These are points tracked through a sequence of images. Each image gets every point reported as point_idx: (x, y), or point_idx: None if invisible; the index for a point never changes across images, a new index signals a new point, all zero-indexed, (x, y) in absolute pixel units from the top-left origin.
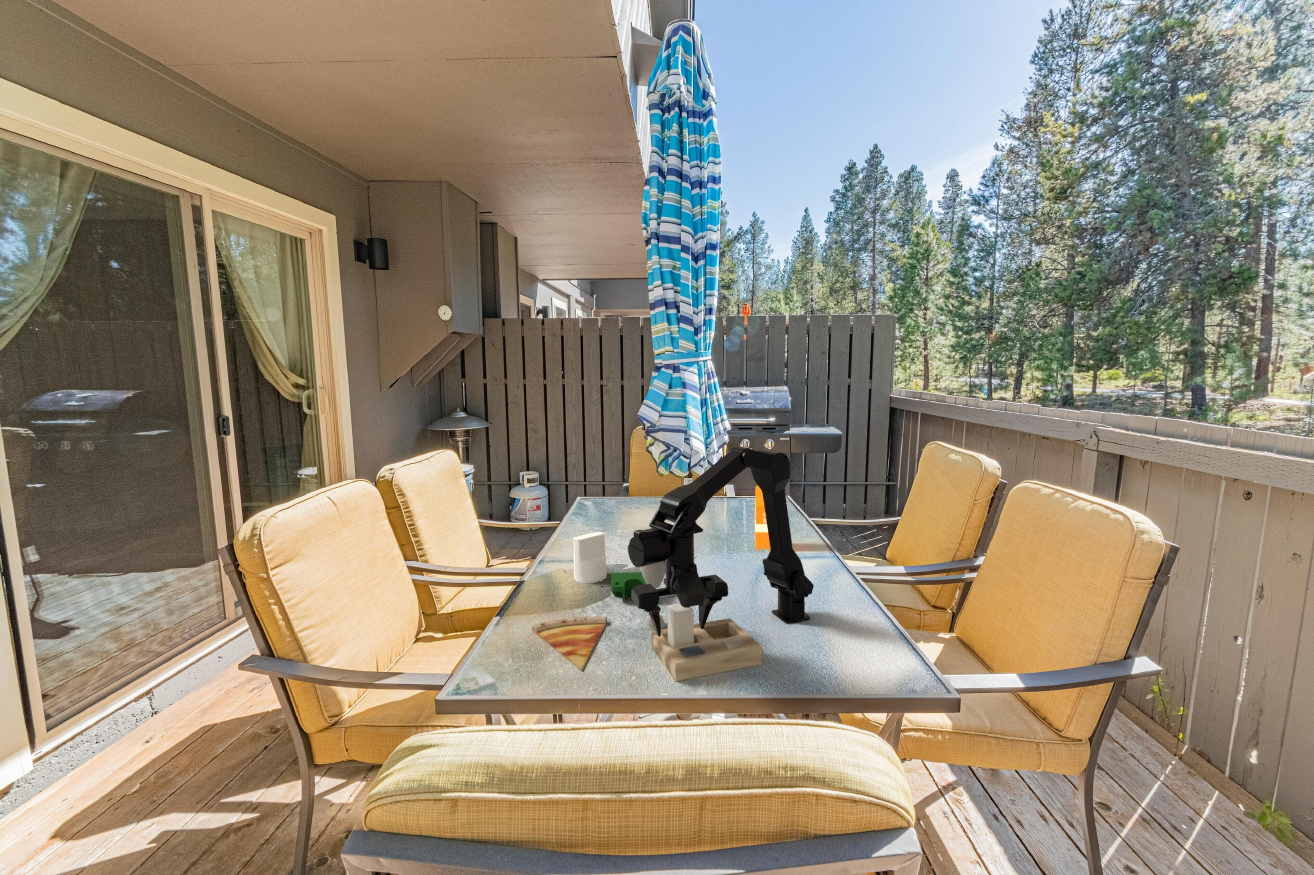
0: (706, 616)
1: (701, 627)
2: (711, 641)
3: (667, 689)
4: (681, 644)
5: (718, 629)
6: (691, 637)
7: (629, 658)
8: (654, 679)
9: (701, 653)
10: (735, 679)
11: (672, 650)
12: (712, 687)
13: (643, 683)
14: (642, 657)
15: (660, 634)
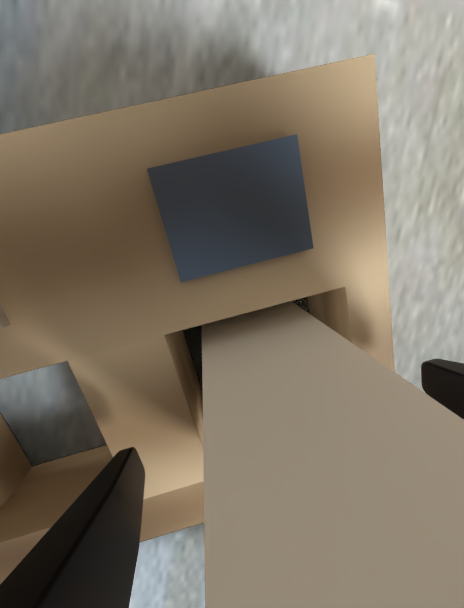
0: (30, 569)
1: (132, 459)
2: (86, 342)
3: (364, 48)
4: (277, 329)
5: (48, 503)
6: (218, 362)
7: (443, 336)
8: (396, 156)
9: (172, 165)
10: (6, 80)
11: (350, 247)
12: (144, 15)
13: (446, 129)
14: (398, 339)
15: (438, 366)
